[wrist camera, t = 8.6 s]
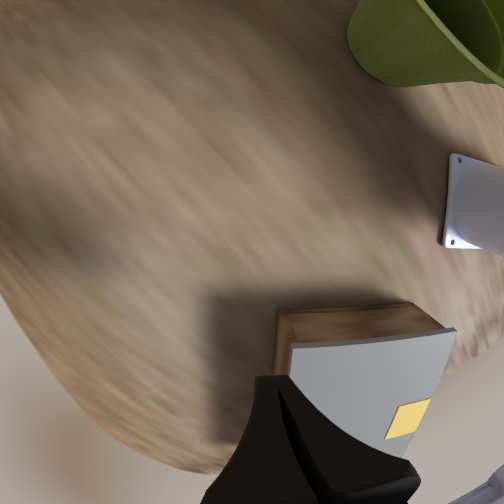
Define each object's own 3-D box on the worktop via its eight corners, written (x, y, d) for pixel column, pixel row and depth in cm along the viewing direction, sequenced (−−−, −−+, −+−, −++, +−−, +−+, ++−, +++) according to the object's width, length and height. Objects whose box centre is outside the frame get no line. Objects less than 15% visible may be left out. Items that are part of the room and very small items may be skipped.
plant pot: (460, 68, 18) (550, 44, 7) (397, 145, 20) (513, 138, 9) (369, -28, 15) (431, -94, 5) (282, 31, 17) (330, -67, 6)
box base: (412, 302, 23) (445, 328, 18) (371, 431, 27) (388, 462, 22) (276, 309, 22) (290, 345, 17) (264, 446, 26) (271, 484, 21)
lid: (452, 327, 18) (458, 331, 17) (392, 465, 22) (394, 469, 21) (291, 343, 17) (293, 349, 16) (271, 486, 21) (271, 491, 20)
